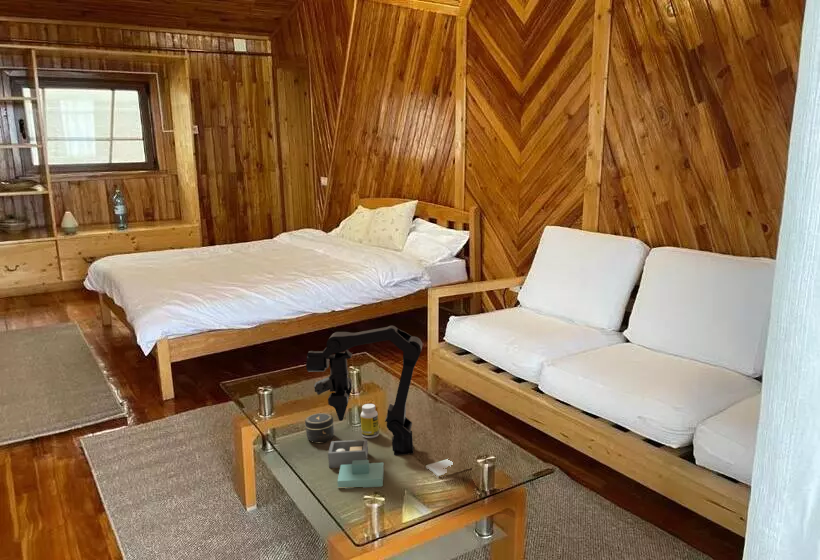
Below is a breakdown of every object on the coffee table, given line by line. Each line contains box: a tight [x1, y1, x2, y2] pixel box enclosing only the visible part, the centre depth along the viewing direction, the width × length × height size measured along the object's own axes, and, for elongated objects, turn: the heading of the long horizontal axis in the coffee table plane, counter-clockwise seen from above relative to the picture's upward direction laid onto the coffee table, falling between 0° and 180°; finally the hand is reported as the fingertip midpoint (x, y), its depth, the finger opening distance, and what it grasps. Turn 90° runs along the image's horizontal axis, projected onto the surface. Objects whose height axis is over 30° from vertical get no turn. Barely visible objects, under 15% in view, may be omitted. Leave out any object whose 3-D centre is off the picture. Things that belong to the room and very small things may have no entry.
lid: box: [337, 459, 385, 488], centre depth 188 cm, size 13×10×6 cm
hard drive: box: [425, 458, 453, 478], centre depth 193 cm, size 2×8×12 cm
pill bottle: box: [360, 403, 380, 439], centre depth 219 cm, size 6×6×11 cm
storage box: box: [327, 438, 369, 469], centre depth 201 cm, size 12×9×5 cm
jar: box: [304, 412, 335, 443], centre depth 219 cm, size 10×10×8 cm
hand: (342, 415), depth 206 cm, fingers open, 9 cm apart
